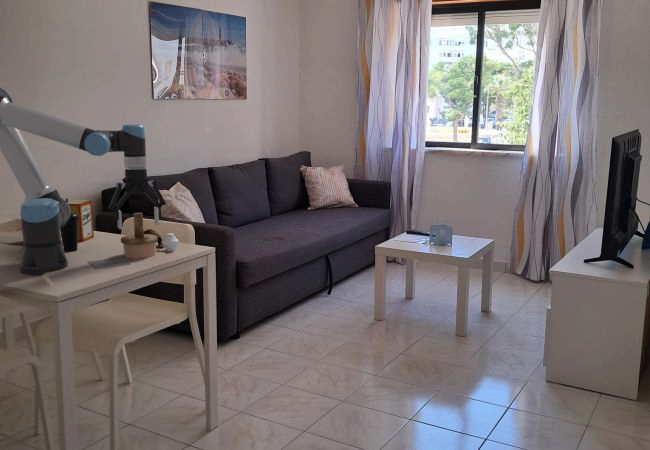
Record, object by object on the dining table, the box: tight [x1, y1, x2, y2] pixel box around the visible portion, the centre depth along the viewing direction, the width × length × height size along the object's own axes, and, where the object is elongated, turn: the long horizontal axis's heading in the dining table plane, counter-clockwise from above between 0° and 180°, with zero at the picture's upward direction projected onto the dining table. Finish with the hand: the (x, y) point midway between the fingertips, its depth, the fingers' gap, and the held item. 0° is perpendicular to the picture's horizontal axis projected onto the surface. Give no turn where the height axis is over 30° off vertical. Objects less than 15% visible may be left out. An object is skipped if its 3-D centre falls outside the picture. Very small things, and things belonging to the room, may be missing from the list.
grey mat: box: [87, 256, 131, 270], centre depth 231 cm, size 12×12×1 cm
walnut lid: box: [120, 212, 158, 245], centre depth 241 cm, size 13×13×10 cm
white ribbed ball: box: [162, 232, 179, 252], centre depth 253 cm, size 6×6×7 cm
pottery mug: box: [144, 228, 165, 249], centre depth 259 cm, size 12×10×8 cm
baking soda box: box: [68, 199, 95, 243], centre depth 271 cm, size 10×6×16 cm
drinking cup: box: [60, 197, 79, 253], centre depth 251 cm, size 8×8×20 cm
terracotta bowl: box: [122, 242, 157, 260], centre depth 242 cm, size 11×11×6 cm
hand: (138, 226), depth 241 cm, fingers open, 13 cm apart
